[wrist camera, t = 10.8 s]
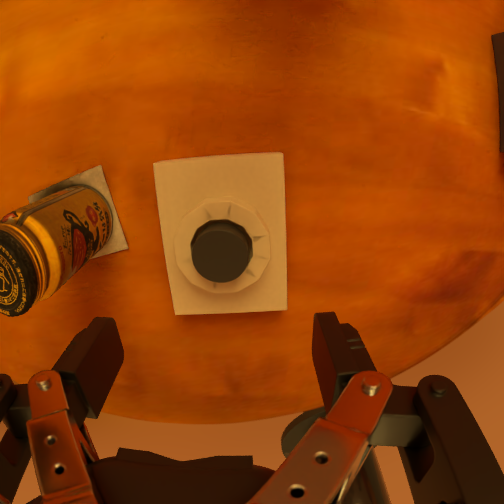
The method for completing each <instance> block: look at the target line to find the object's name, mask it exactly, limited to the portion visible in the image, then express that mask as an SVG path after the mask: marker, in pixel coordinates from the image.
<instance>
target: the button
mask: <svg viewBox="0 0 504 504" xmlns="http://www.w3.org/2000/svg"><path fill="white" fill-rule="evenodd" d="M248 259H249V246H248V241H247V239H246V236H245V235H244V233H243V232H242V231H241V230H240V229H239V228H237V227H236V226H234V225H232V224H229V223H223V222H219V223H214V224H211V225H209V226H207V227H206V228H204V229H203V230H202V231H201V232H200V234H199V235H198V237H197V239H196V241H195V244H194V246H193V249H192V262H193V265H194V267H195V269H196V270H197V272H198V273H199V274H200V275H201V276H202V277H204V278H205V279H207V280H209V281H212V282H216V283H226V282H230V281H233V280H235V279H236V278H238V277H239V276H240V275H241V274H242V273H243V272H244V271H245V269H246V267H247V264H248Z"/></svg>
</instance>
